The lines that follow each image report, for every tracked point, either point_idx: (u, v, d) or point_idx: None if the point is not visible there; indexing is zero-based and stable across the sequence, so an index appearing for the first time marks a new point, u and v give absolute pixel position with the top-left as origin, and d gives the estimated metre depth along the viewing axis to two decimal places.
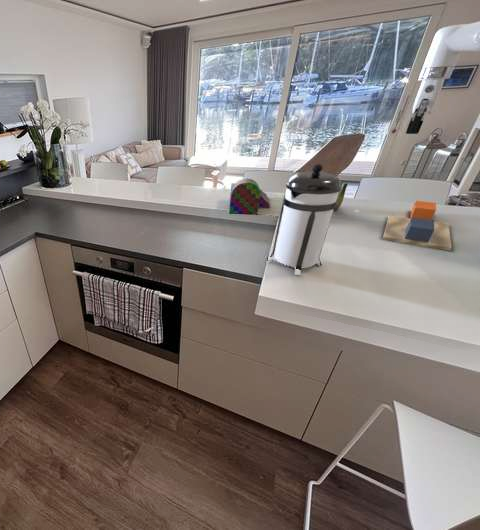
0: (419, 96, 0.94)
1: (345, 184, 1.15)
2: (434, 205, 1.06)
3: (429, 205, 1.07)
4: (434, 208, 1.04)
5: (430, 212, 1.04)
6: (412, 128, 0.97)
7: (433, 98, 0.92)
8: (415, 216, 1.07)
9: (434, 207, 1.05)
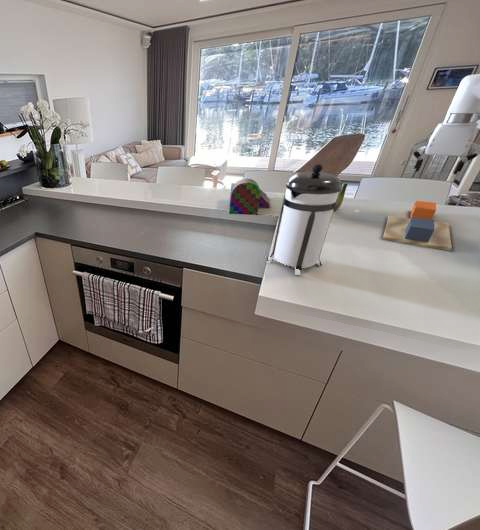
0: (472, 139, 0.93)
1: (345, 184, 1.15)
2: (434, 205, 1.06)
3: (429, 205, 1.07)
4: (434, 208, 1.04)
5: (430, 212, 1.04)
6: None
7: None
8: (415, 216, 1.07)
9: (434, 207, 1.05)
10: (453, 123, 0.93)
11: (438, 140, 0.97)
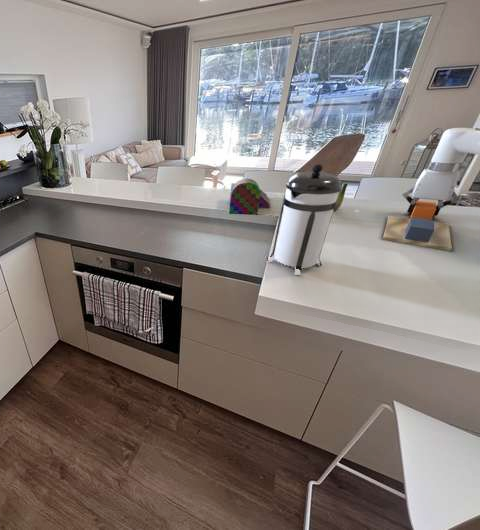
0: (454, 186, 0.99)
1: (345, 184, 1.15)
2: (434, 205, 1.06)
3: (429, 205, 1.07)
4: (434, 208, 1.04)
5: (430, 212, 1.04)
6: None
7: None
8: (415, 216, 1.07)
9: (434, 207, 1.05)
10: (436, 171, 1.00)
11: (423, 185, 1.04)
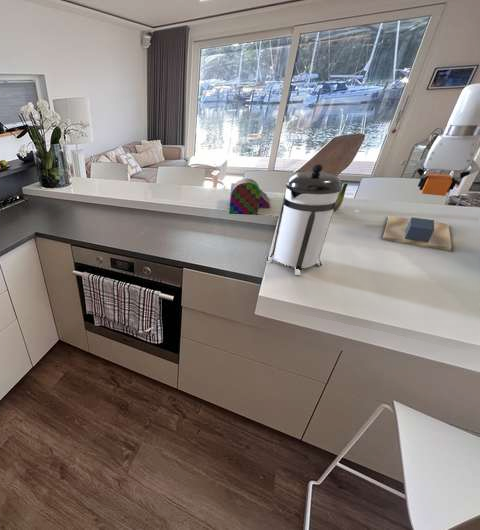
0: (474, 153, 0.85)
1: (345, 184, 1.15)
2: (449, 177, 0.92)
3: (443, 177, 0.93)
4: (450, 180, 0.90)
5: (444, 185, 0.90)
6: None
7: None
8: (427, 190, 0.93)
9: (449, 179, 0.91)
10: (454, 136, 0.86)
11: (438, 153, 0.90)
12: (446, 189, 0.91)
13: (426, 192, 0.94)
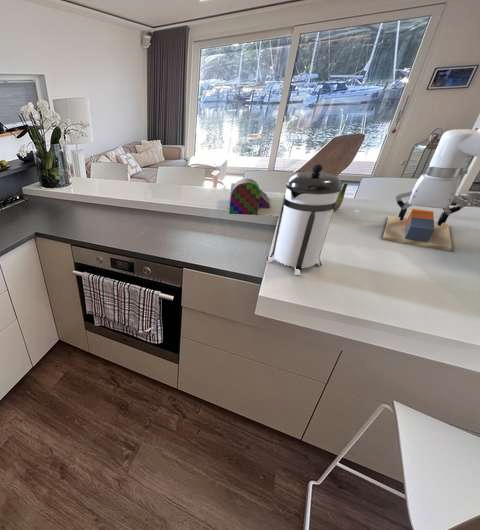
0: (454, 193, 0.91)
1: (345, 184, 1.15)
2: (432, 214, 0.98)
3: (426, 214, 0.98)
4: (432, 218, 0.96)
5: None
6: None
7: None
8: None
9: (431, 216, 0.96)
10: (435, 177, 0.91)
11: (421, 192, 0.95)
12: None
13: None
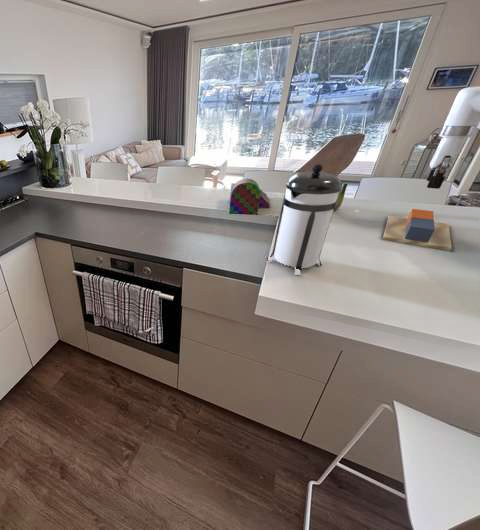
0: None
1: (345, 184, 1.15)
2: (432, 214, 0.98)
3: (426, 214, 0.98)
4: (432, 218, 0.96)
5: None
6: None
7: None
8: None
9: (431, 216, 0.96)
10: (472, 135, 0.90)
11: (458, 153, 0.92)
12: None
13: None
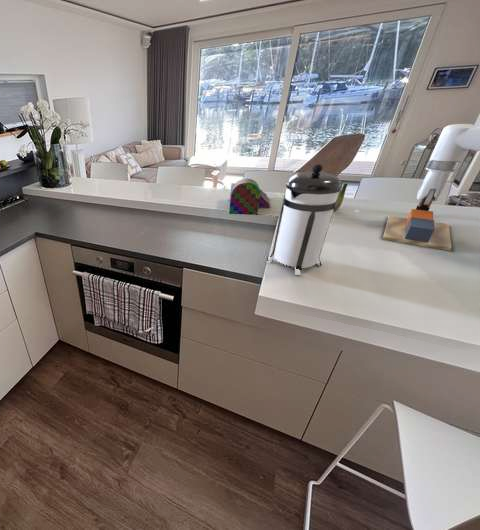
0: None
1: (345, 184, 1.15)
2: (431, 214, 0.98)
3: (425, 214, 0.98)
4: (431, 218, 0.95)
5: None
6: None
7: None
8: None
9: (431, 217, 0.96)
10: (456, 170, 0.93)
11: (443, 187, 0.95)
12: None
13: None
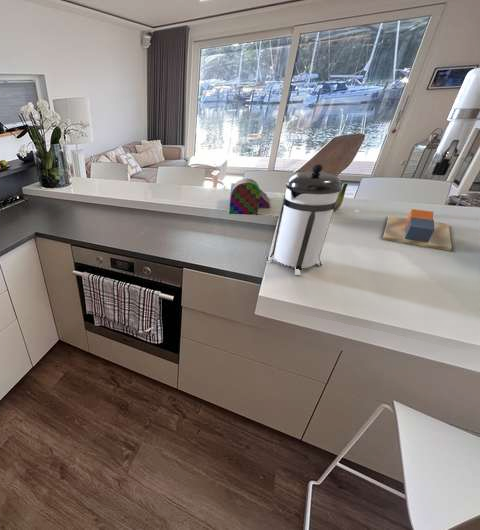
0: None
1: (345, 184, 1.15)
2: (431, 214, 0.98)
3: (425, 214, 0.98)
4: (431, 218, 0.95)
5: None
6: None
7: None
8: None
9: (431, 217, 0.96)
10: None
11: None
12: None
13: None
